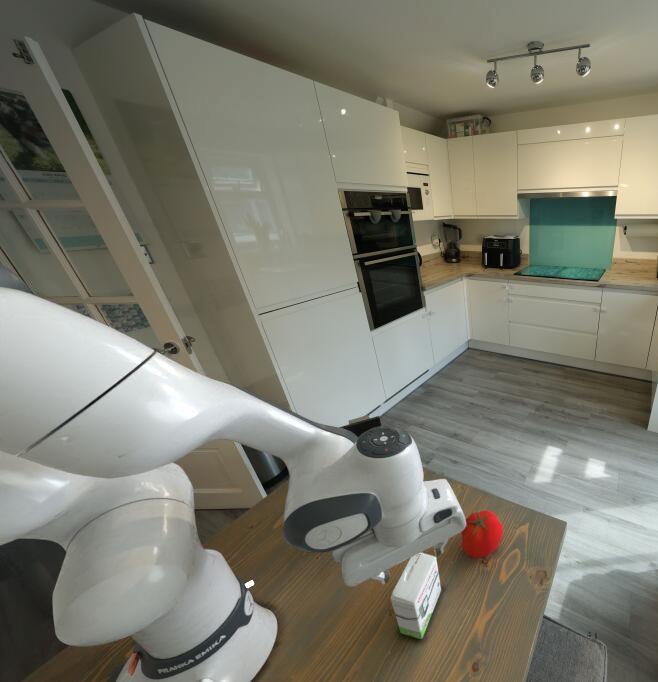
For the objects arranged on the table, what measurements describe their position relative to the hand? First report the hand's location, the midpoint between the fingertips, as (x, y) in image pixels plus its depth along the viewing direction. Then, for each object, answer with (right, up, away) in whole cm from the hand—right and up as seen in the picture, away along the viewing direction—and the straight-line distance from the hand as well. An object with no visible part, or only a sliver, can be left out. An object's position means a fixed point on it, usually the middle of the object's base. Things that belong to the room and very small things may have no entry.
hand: (413, 564), depth 56 cm
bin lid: (-21, +14, +25) cm, 35 cm away
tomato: (+11, -8, +18) cm, 23 cm away
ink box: (0, -14, +6) cm, 15 cm away
